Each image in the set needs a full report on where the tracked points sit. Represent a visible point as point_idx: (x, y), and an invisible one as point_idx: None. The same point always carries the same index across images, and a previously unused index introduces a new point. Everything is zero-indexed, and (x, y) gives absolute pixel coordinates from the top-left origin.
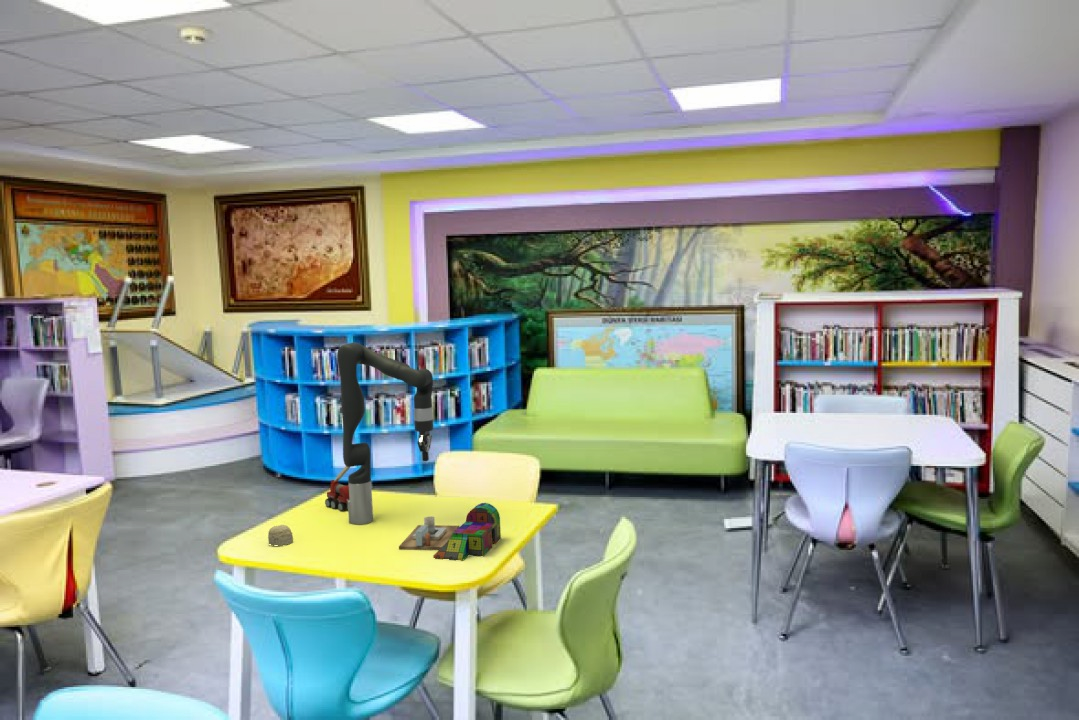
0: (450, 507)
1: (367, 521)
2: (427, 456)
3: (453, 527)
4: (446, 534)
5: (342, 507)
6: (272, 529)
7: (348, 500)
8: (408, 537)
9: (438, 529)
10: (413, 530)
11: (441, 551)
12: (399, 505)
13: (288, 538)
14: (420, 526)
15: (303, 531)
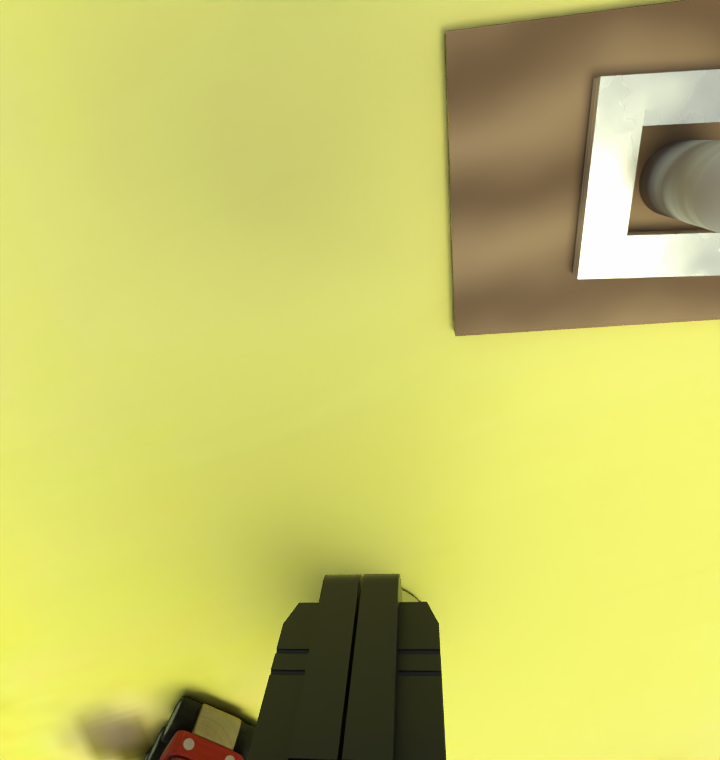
0: (33, 270)
1: (407, 600)
2: (393, 650)
3: (493, 61)
4: (661, 55)
5: None
6: None
7: (226, 755)
8: (702, 310)
9: (636, 131)
10: (562, 327)
11: None
12: (101, 547)
13: None
14: (481, 311)
15: None
